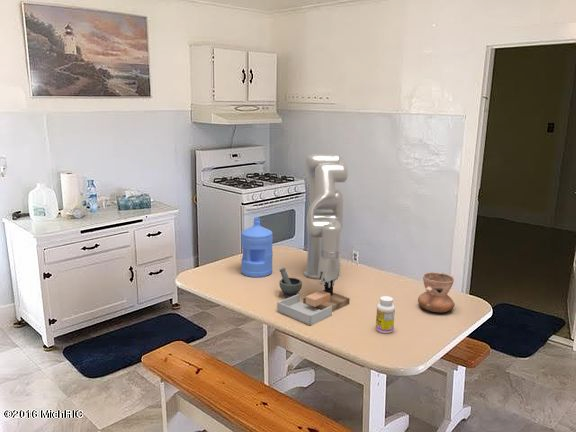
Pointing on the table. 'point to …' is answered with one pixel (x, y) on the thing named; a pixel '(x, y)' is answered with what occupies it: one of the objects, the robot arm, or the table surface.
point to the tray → (302, 310)
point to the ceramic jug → (436, 292)
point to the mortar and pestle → (289, 284)
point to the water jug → (256, 250)
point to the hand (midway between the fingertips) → (328, 294)
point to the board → (332, 302)
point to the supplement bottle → (385, 315)
